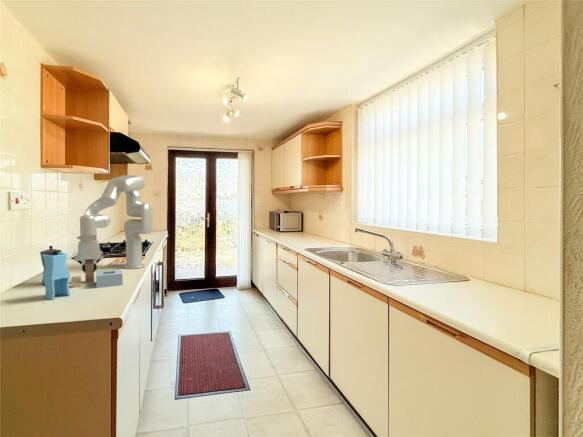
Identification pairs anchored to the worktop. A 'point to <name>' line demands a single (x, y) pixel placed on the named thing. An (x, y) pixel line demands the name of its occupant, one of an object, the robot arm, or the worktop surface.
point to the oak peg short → (76, 281)
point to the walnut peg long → (89, 271)
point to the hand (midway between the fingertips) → (89, 271)
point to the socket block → (109, 278)
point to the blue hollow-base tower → (56, 275)
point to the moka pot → (51, 253)
